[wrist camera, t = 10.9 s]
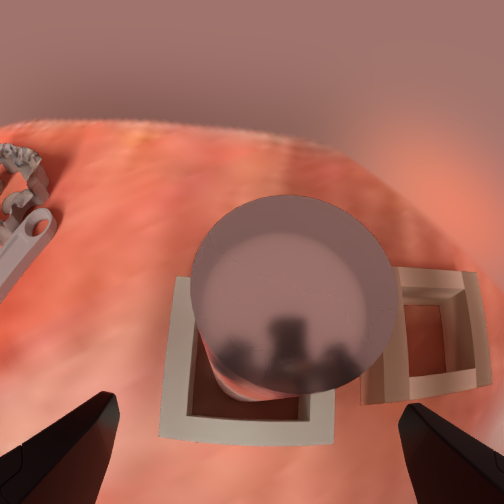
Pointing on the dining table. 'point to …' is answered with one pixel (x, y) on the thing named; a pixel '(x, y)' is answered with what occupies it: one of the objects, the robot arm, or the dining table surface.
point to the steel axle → (291, 298)
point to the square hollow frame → (222, 428)
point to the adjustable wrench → (24, 248)
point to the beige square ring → (454, 335)
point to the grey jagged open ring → (22, 201)
